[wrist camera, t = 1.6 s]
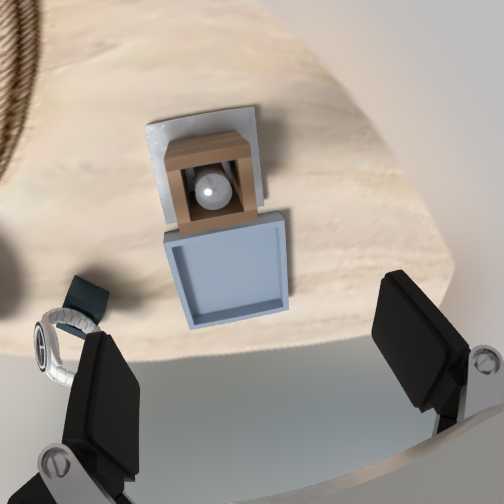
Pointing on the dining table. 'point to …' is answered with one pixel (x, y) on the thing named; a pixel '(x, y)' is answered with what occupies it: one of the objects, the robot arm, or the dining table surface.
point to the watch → (68, 326)
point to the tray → (230, 271)
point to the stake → (211, 175)
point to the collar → (203, 153)
